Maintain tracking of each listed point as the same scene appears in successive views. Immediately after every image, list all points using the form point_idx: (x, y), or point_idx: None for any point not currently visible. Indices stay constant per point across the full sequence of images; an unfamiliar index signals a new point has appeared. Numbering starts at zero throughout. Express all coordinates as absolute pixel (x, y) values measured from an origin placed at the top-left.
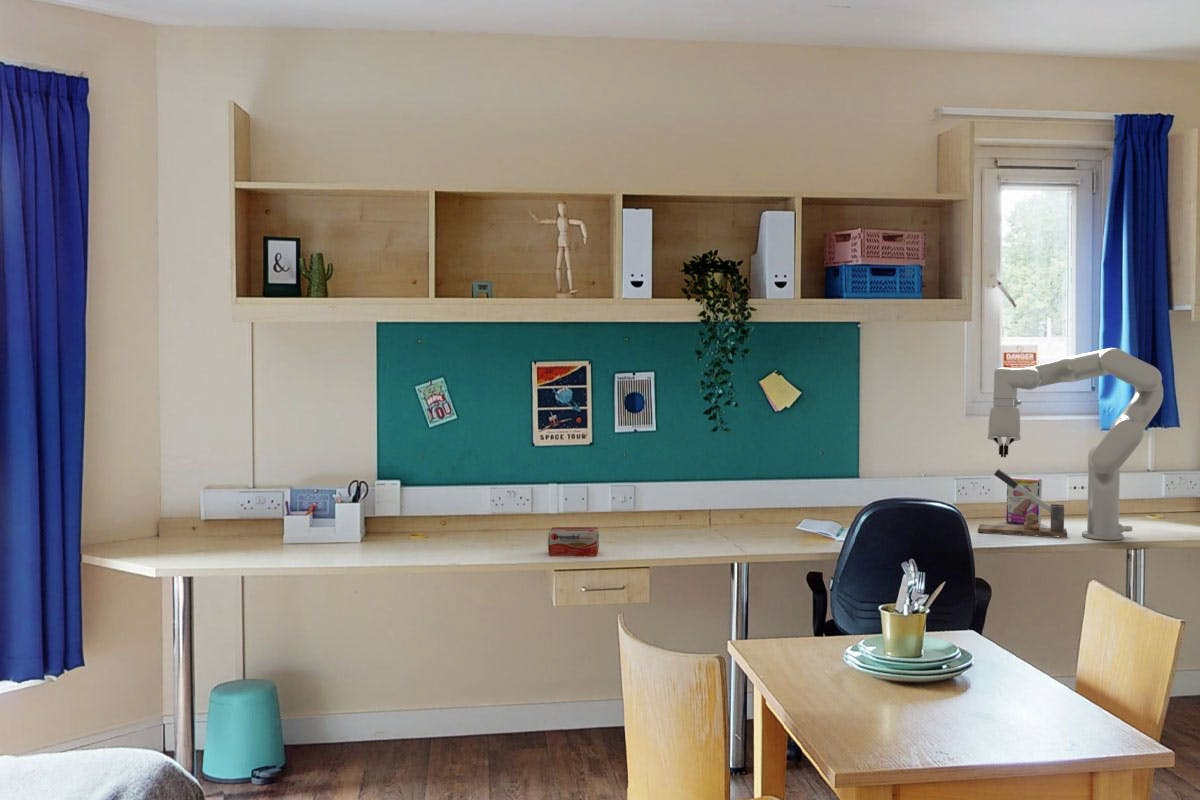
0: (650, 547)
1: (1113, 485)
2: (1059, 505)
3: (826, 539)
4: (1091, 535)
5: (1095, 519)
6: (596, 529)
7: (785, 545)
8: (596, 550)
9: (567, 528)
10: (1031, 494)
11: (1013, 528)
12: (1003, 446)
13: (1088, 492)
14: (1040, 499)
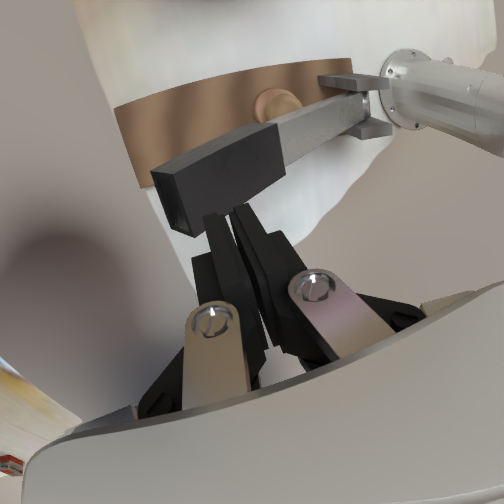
0: (4, 442)
1: None
2: (378, 89)
3: (23, 384)
4: (399, 123)
5: (430, 125)
6: (15, 472)
7: (37, 418)
8: (22, 464)
9: (6, 472)
10: (319, 144)
11: (225, 125)
12: (252, 289)
13: (470, 121)
14: (336, 105)
